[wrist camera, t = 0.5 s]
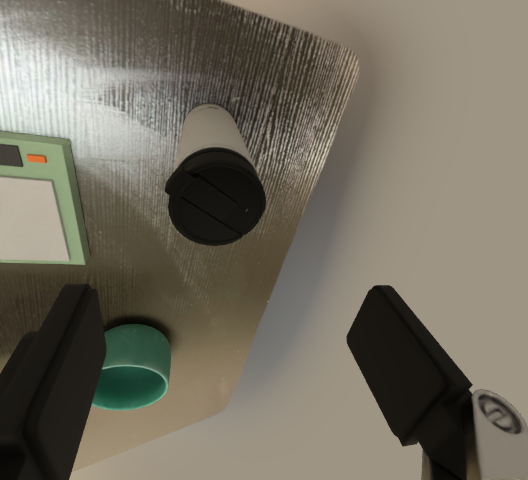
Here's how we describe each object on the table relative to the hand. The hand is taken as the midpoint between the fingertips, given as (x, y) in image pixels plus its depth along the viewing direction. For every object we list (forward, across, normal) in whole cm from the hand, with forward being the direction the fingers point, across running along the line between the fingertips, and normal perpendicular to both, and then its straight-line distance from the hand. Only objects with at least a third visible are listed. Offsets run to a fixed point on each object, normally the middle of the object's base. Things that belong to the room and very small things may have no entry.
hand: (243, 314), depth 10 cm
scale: (+29, +22, +11) cm, 38 cm away
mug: (+30, +12, +37) cm, 49 cm away
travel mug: (+29, 0, 0) cm, 29 cm away
